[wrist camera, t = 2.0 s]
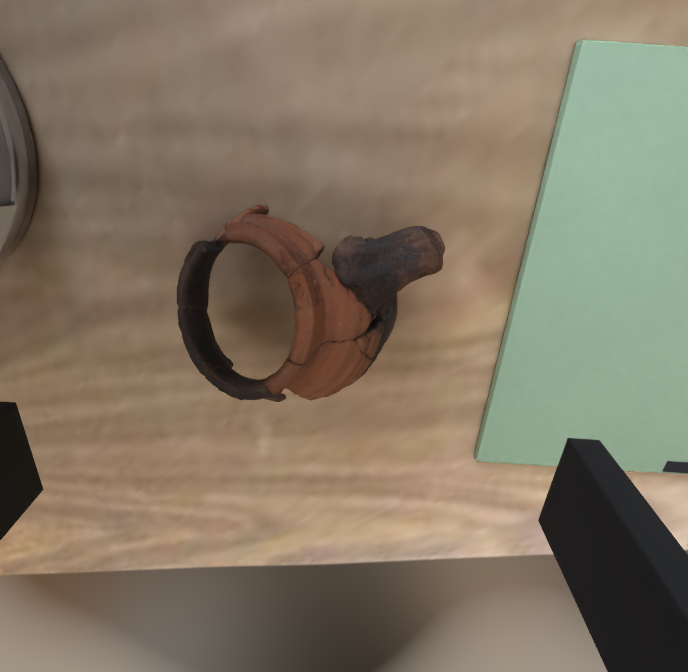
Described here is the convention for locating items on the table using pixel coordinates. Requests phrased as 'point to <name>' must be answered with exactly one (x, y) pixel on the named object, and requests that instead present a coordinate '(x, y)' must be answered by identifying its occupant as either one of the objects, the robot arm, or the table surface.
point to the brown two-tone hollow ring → (309, 302)
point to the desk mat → (603, 274)
